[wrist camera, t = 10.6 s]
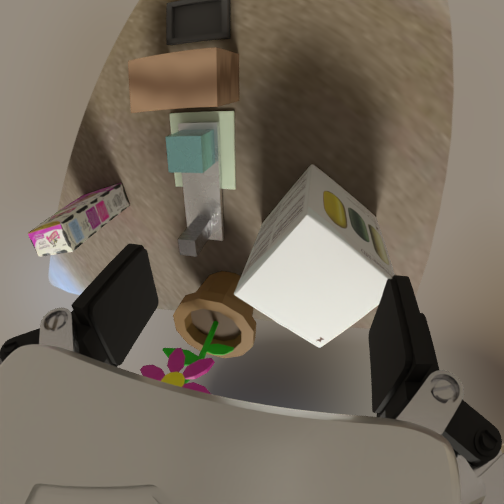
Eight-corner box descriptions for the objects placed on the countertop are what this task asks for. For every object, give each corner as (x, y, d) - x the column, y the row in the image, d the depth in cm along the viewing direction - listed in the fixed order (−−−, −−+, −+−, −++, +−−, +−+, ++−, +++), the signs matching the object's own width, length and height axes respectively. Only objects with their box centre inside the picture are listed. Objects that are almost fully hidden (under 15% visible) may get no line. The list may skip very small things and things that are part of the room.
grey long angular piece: (180, 122, 40) (154, 132, 34) (219, 121, 39) (198, 130, 33) (190, 234, 50) (171, 260, 44) (224, 237, 49) (208, 265, 43)
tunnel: (164, 61, 36) (128, 60, 28) (238, 54, 34) (216, 47, 26) (166, 104, 40) (131, 113, 32) (239, 100, 38) (217, 106, 30)
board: (170, 113, 40) (169, 113, 40) (234, 111, 39) (233, 111, 38) (176, 185, 47) (175, 186, 47) (235, 188, 45) (235, 189, 45)
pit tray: (171, 5, 31) (166, 3, 29) (230, -4, 29) (227, -7, 28) (171, 45, 34) (166, 44, 33) (230, 38, 33) (227, 37, 32)
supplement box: (378, 216, 42) (402, 289, 28) (323, 270, 50) (319, 350, 35) (311, 161, 40) (306, 211, 26) (260, 224, 48) (230, 295, 33)
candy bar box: (121, 180, 48) (60, 222, 35) (131, 205, 51) (74, 253, 37) (82, 193, 52) (25, 233, 38) (91, 215, 54) (38, 258, 41)
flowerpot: (256, 258, 51) (197, 418, 27) (272, 319, 58) (235, 462, 33) (183, 264, 56) (100, 395, 31) (206, 319, 62) (150, 443, 38)
